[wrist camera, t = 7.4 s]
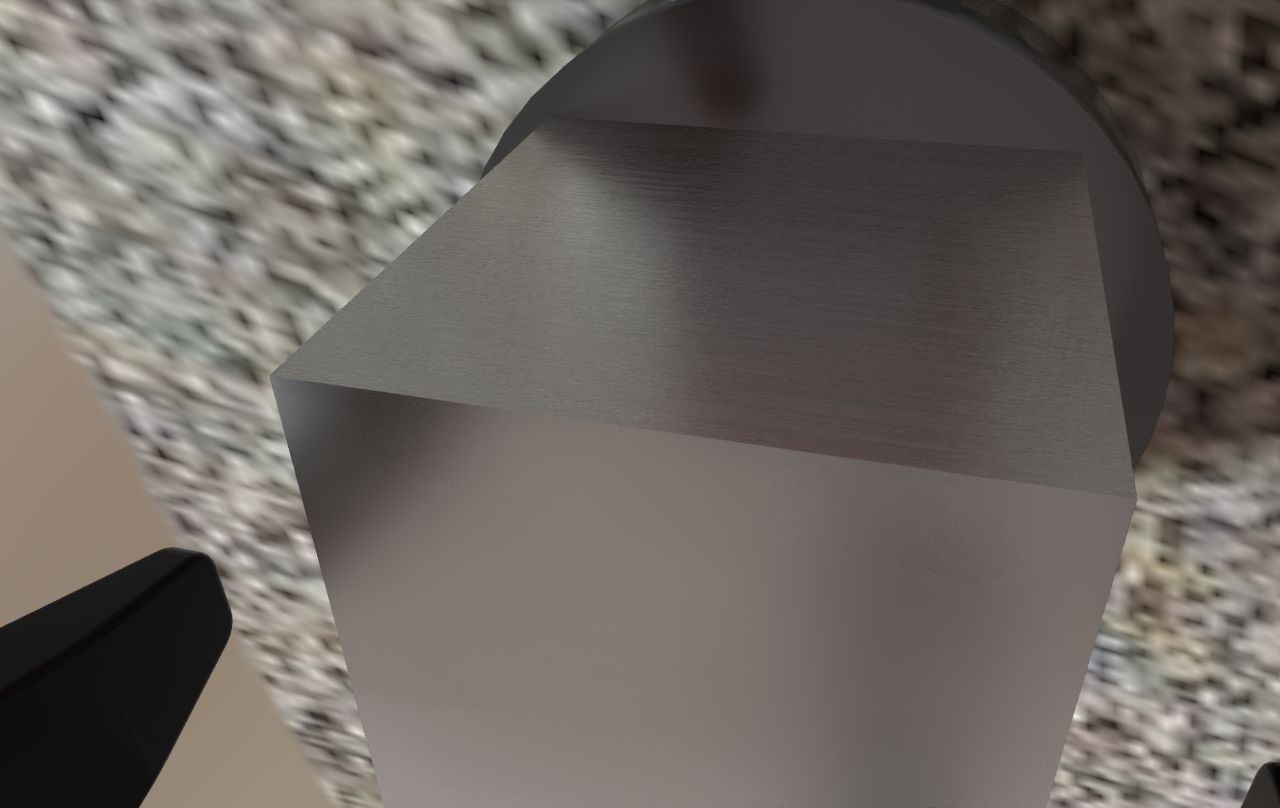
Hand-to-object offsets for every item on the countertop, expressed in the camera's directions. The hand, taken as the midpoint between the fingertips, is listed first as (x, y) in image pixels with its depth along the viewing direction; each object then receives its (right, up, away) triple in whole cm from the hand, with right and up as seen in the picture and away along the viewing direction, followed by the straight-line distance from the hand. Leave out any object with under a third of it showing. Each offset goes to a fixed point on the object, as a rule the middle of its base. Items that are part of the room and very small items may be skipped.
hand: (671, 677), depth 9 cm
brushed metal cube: (+2, +3, +5) cm, 6 cm away
